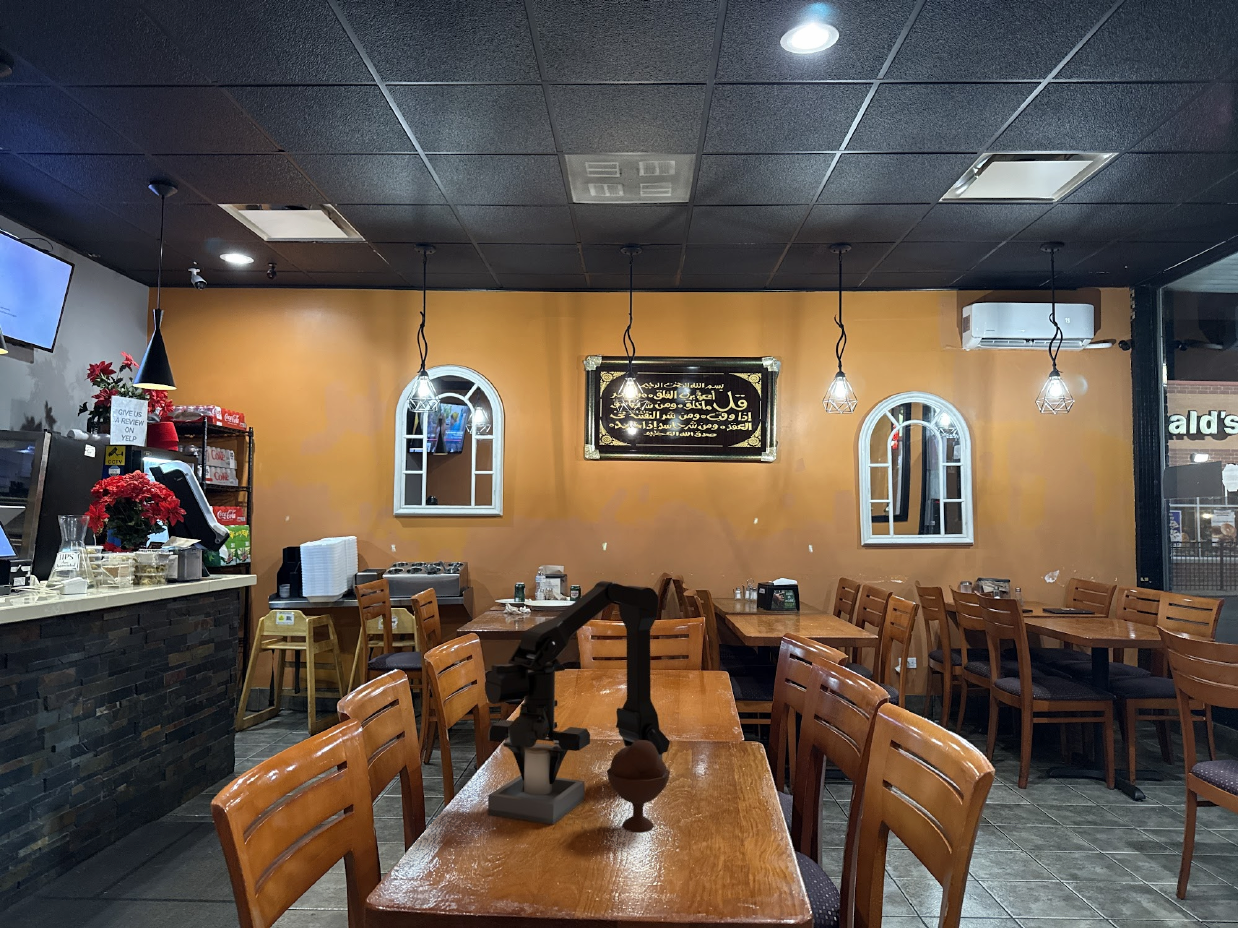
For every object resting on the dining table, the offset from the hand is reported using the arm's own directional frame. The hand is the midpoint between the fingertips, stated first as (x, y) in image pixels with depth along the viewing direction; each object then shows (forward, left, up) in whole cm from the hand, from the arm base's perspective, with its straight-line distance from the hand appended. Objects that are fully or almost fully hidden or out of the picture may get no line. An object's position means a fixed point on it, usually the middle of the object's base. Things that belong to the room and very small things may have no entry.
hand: (538, 781), depth 151 cm
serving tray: (0, 0, -5) cm, 5 cm away
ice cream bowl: (-20, +2, -5) cm, 21 cm away
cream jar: (0, 0, -2) cm, 2 cm away
